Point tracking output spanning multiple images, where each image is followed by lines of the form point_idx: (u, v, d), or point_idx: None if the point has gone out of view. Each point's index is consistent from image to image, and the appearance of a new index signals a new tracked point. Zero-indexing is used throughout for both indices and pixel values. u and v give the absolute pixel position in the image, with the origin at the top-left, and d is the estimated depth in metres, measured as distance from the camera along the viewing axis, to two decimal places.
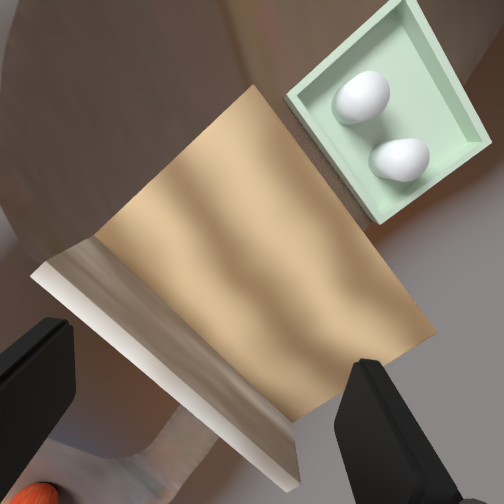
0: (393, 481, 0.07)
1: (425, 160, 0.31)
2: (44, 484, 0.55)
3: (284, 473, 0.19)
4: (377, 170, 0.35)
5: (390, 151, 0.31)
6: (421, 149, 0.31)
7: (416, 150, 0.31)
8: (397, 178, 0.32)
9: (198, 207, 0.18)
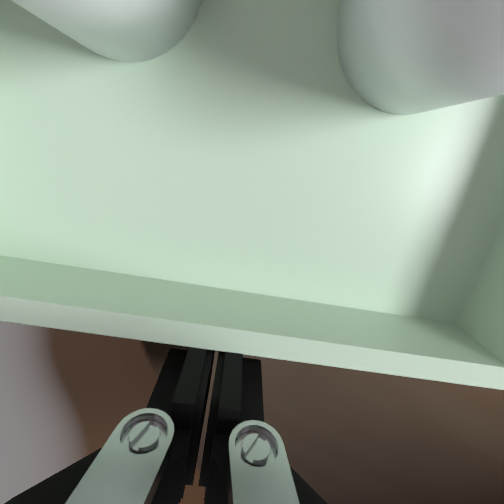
0: None
1: None
2: None
3: None
4: None
5: None
6: None
7: None
8: None
9: None
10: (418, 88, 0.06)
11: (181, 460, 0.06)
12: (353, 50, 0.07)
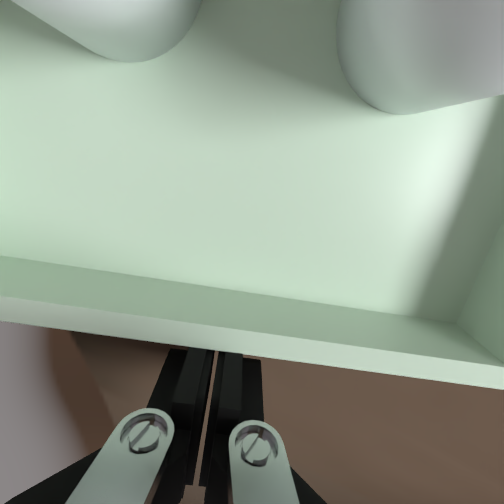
0: None
1: None
2: None
3: None
4: None
5: None
6: None
7: None
8: None
9: None
10: (417, 88, 0.06)
11: (181, 460, 0.06)
12: (352, 50, 0.07)
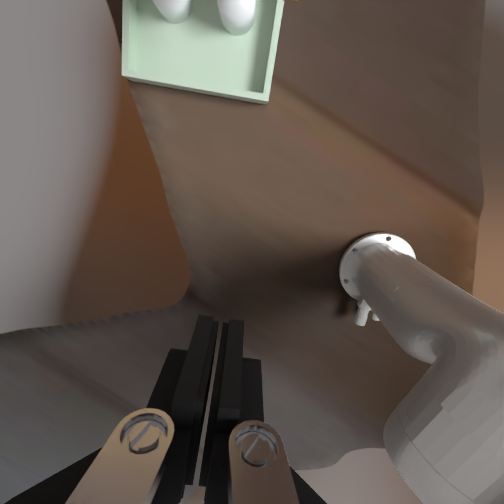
0: None
1: None
2: None
3: None
4: None
5: None
6: None
7: None
8: None
9: None
10: (229, 25, 0.36)
11: (181, 460, 0.06)
12: (221, 20, 0.37)
